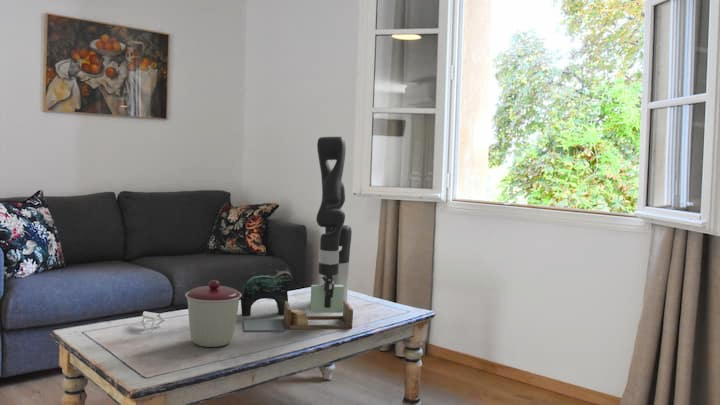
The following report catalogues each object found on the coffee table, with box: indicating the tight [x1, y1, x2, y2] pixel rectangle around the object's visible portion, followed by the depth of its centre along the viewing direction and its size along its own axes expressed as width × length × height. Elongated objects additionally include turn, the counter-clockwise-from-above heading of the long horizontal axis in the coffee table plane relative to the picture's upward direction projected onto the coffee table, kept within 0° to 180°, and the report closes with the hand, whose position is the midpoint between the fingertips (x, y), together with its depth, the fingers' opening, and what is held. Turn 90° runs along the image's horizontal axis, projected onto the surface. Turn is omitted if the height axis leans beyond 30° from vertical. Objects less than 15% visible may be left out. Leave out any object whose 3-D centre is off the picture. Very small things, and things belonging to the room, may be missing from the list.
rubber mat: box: [242, 318, 285, 333], centre depth 235 cm, size 14×14×1 cm
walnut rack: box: [283, 300, 354, 330], centre depth 242 cm, size 14×24×7 cm, turn 102°
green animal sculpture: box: [240, 263, 293, 317], centre depth 250 cm, size 20×6×20 cm, turn 108°
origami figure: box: [140, 310, 166, 333], centre depth 226 cm, size 12×8×5 cm
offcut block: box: [290, 309, 309, 326], centre depth 241 cm, size 8×4×4 cm, turn 34°
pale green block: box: [310, 284, 344, 314], centre depth 242 cm, size 3×12×10 cm, turn 102°
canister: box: [184, 279, 242, 348], centre depth 212 cm, size 18×18×21 cm
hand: (326, 306), depth 243 cm, fingers closed on pale green block, 3 cm apart
